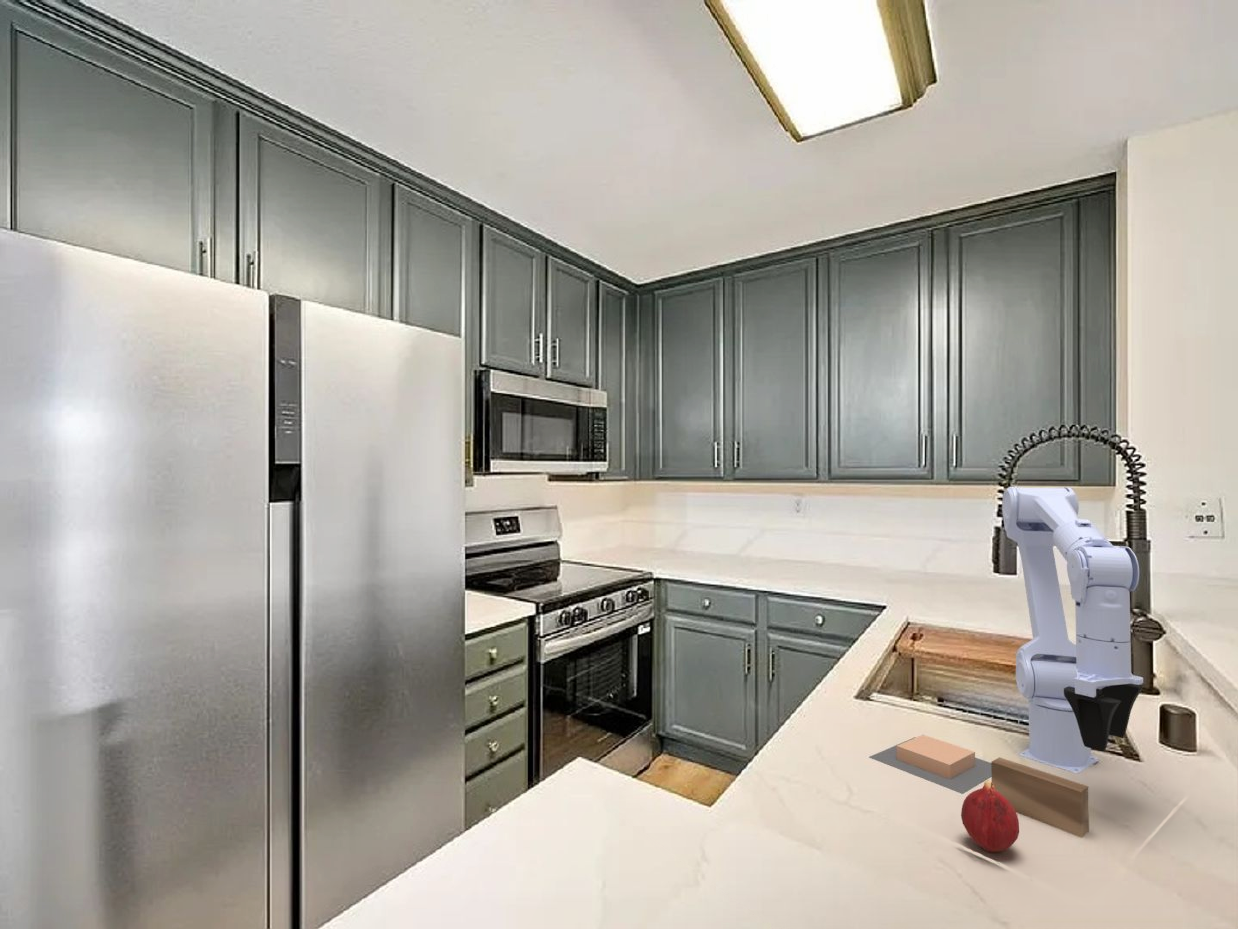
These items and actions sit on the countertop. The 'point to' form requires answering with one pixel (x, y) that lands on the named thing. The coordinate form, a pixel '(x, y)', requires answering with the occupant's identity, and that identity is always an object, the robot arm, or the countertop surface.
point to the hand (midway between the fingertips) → (1104, 741)
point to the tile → (936, 756)
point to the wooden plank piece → (1043, 796)
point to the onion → (990, 819)
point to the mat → (956, 783)
